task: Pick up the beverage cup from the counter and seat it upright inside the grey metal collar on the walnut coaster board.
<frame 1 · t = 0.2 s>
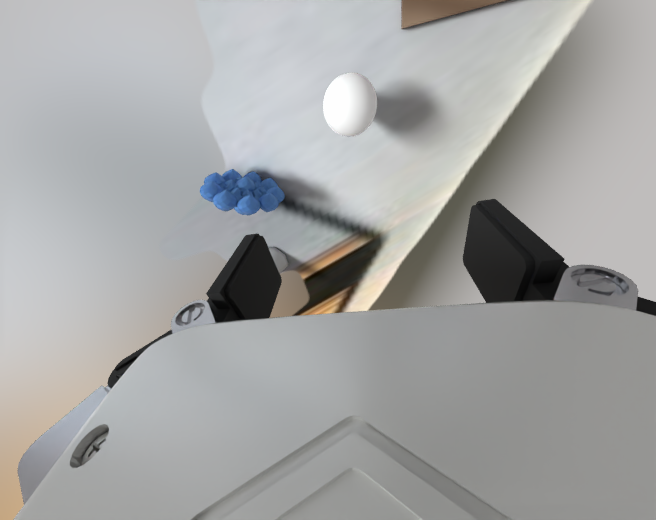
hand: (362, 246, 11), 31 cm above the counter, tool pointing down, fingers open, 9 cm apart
flask: (272, 259, 53), on the counter
grapes: (256, 182, 42), on the counter
lightbulb: (350, 100, 33), on the counter
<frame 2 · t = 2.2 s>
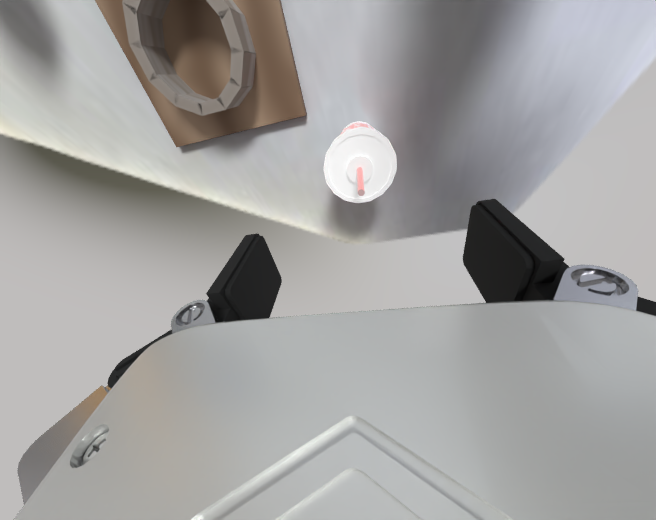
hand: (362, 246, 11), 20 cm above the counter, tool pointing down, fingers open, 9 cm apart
beverage cup: (358, 144, 27), on the counter
coaster board: (208, 51, 23), on the counter
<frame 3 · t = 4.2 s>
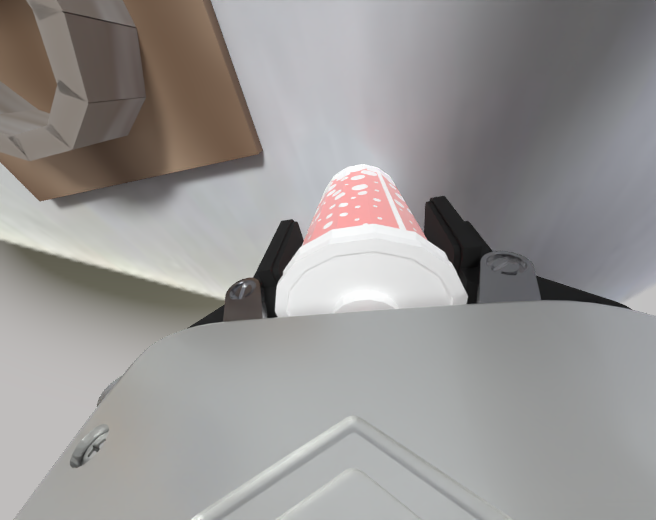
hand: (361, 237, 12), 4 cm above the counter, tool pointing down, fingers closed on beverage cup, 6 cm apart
beverage cup: (359, 200, 15), on the counter, touching gripper
coaster board: (45, 24, 11), on the counter
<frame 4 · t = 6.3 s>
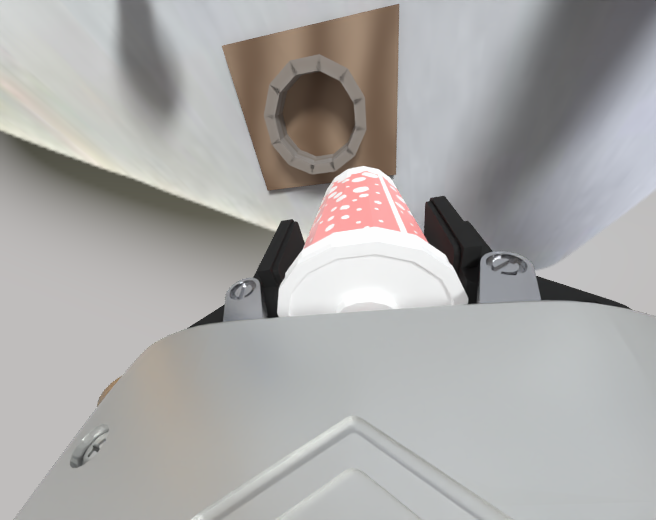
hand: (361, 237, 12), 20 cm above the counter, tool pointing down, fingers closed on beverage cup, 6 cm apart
beverage cup: (360, 202, 15), point 15 cm above the counter, touching gripper
coaster board: (319, 116, 25), on the counter
when the fingers open (6 cm above the counter, at t = 8.6 s): beverage cup drops 1 cm, resting on coaster board.
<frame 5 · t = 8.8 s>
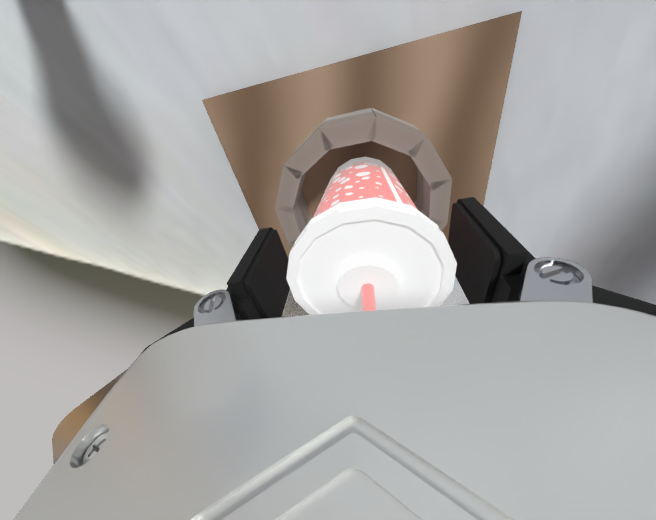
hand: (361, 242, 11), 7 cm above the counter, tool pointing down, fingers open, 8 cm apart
beverage cup: (362, 191, 16), point 1 cm above the counter, touching coaster board
coaster board: (358, 189, 17), on the counter
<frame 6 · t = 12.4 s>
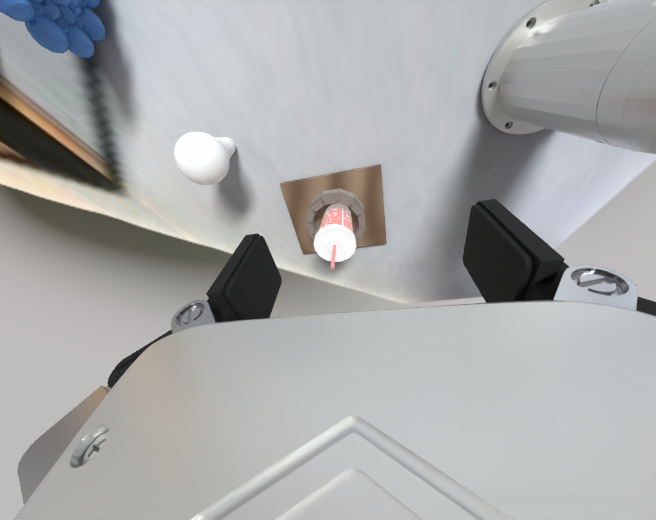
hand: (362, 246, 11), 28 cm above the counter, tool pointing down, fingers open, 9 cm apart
beverage cup: (337, 215, 41), point 1 cm above the counter, touching coaster board
coaster board: (336, 213, 41), on the counter
lightbulb: (229, 144, 36), on the counter
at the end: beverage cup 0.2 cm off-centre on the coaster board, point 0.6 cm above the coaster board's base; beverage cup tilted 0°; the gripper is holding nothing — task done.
